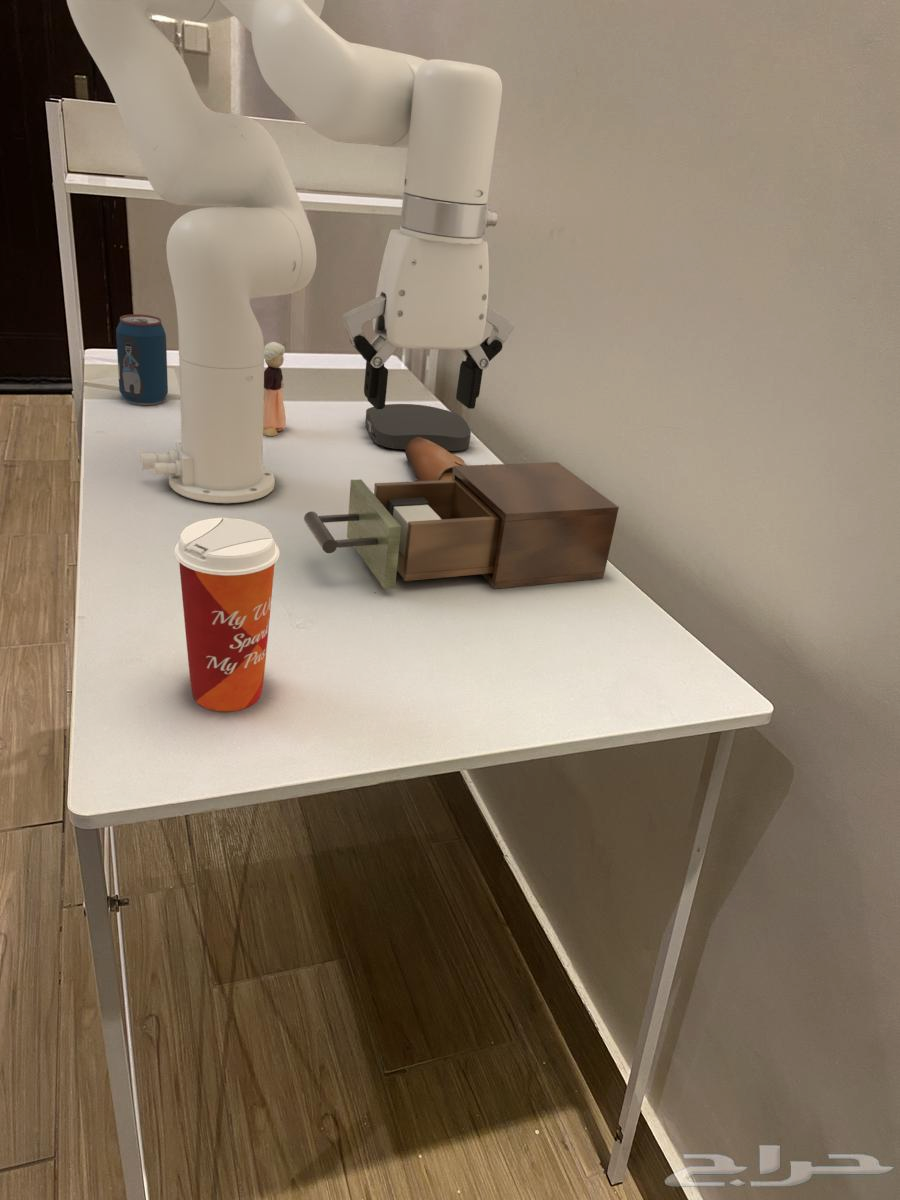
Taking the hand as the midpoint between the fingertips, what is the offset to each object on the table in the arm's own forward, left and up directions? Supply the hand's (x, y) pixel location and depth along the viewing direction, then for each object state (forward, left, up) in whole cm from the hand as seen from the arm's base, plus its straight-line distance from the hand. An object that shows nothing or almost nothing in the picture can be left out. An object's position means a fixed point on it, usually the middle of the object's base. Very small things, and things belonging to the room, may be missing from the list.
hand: (421, 404), depth 90 cm
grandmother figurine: (-4, +45, -18) cm, 48 cm away
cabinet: (+14, 0, -18) cm, 23 cm away
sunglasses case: (+14, +21, -18) cm, 31 cm away
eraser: (+1, 0, -16) cm, 16 cm away
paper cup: (-23, -19, -18) cm, 35 cm away
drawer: (-1, 0, -17) cm, 17 cm away
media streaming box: (+17, +41, -18) cm, 48 cm away
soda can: (-20, +60, -18) cm, 65 cm away
